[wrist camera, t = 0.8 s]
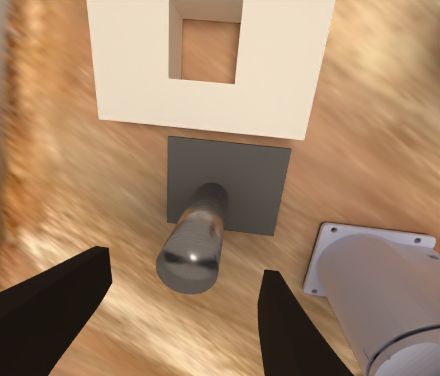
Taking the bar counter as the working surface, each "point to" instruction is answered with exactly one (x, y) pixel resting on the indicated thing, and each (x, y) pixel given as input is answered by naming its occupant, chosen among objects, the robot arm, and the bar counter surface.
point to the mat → (228, 180)
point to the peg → (195, 243)
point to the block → (208, 91)
